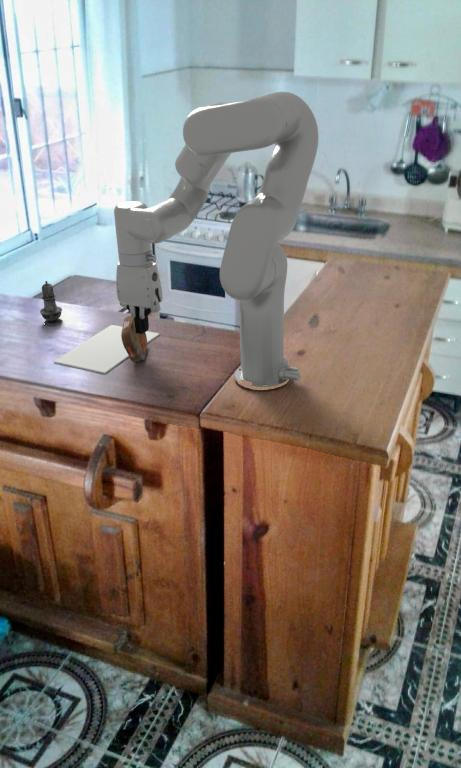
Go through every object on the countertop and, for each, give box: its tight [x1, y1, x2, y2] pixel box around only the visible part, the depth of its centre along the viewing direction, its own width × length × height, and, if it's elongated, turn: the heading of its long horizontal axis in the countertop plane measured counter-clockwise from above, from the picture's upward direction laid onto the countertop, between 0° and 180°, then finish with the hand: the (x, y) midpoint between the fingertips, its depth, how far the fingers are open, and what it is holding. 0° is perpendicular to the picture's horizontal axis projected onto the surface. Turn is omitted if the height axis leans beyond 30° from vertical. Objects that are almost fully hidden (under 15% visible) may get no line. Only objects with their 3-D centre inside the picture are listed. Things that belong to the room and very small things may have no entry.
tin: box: [121, 315, 148, 363], centre depth 170 cm, size 15×3×8 cm, turn 2°
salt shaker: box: [39, 280, 64, 327], centre depth 190 cm, size 6×6×12 cm
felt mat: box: [53, 324, 160, 374], centre depth 177 cm, size 15×24×1 cm, turn 154°
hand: (142, 331), depth 169 cm, fingers closed
